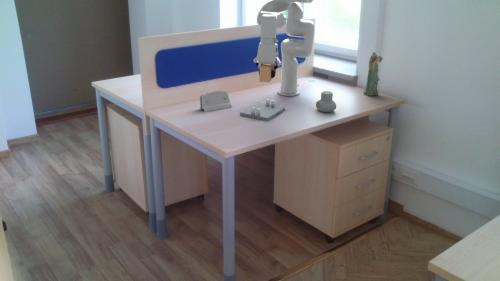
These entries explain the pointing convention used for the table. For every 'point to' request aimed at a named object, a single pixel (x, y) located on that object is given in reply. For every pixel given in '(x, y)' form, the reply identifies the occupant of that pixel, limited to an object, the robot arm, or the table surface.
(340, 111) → the table surface
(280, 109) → the base plate
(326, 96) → the grey green vase
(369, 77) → the statue
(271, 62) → the robot arm
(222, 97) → the hinge
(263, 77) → the block
